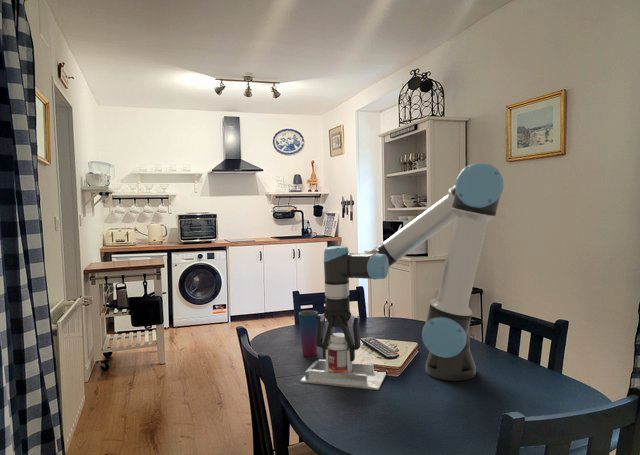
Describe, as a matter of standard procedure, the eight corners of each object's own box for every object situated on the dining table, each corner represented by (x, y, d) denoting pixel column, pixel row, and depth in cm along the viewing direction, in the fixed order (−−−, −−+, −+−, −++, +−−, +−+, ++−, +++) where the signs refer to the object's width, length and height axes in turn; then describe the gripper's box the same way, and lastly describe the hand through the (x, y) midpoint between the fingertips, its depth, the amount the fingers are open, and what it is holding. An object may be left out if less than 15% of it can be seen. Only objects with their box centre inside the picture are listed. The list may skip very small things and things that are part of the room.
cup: (297, 356, 165) (295, 314, 164) (304, 350, 171) (303, 310, 170) (314, 358, 162) (313, 315, 161) (321, 352, 168) (320, 311, 168)
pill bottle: (326, 369, 146) (325, 333, 145) (344, 365, 148) (343, 331, 148) (334, 375, 140) (333, 339, 140) (352, 372, 143) (351, 336, 142)
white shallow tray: (387, 372, 147) (387, 362, 147) (378, 390, 133) (378, 379, 133) (315, 366, 154) (315, 357, 154) (300, 382, 141) (300, 372, 141)
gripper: (370, 295, 143) (371, 368, 145) (311, 292, 149) (314, 363, 151) (364, 300, 136) (366, 377, 138) (303, 297, 142) (306, 371, 144)
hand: (339, 369), depth 144 cm, fingers closed on pill bottle, 6 cm apart
